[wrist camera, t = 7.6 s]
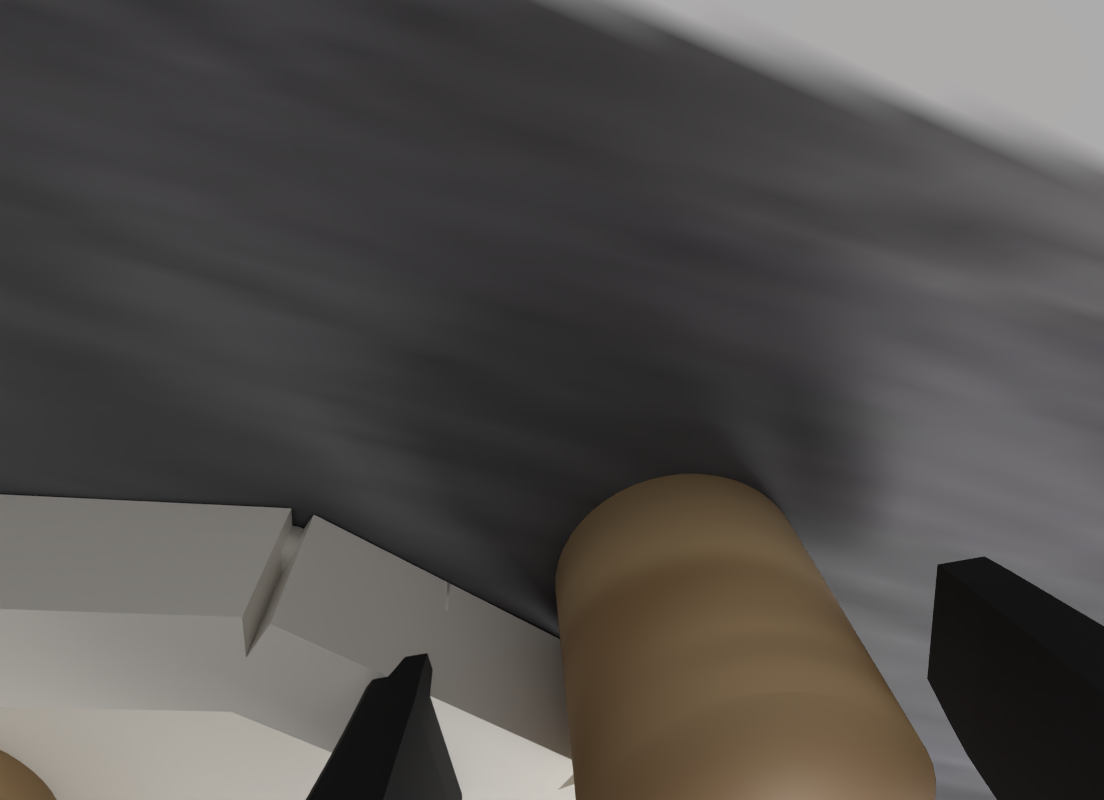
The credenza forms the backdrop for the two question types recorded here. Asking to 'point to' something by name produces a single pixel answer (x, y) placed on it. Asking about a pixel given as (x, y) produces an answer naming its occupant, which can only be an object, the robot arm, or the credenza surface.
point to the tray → (247, 655)
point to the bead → (719, 658)
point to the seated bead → (20, 781)
